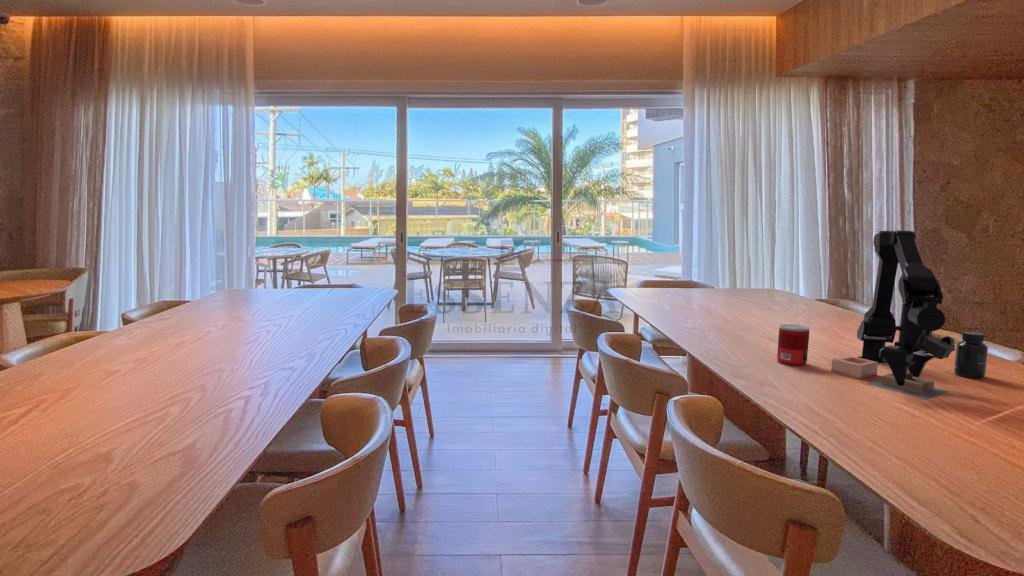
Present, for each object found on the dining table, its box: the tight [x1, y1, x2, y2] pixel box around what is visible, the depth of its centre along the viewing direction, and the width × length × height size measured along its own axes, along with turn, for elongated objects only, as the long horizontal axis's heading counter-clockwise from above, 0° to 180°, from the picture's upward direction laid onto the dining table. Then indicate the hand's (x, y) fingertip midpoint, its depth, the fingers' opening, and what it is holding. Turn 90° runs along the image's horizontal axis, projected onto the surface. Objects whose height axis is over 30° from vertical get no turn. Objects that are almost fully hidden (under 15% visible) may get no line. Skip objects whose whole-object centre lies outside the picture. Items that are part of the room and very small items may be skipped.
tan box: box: [830, 355, 879, 380], centre depth 159 cm, size 8×8×4 cm
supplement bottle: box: [953, 331, 989, 379], centre depth 159 cm, size 7×7×12 cm
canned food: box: [776, 323, 810, 367], centre depth 170 cm, size 8×8×11 cm
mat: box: [865, 378, 951, 400], centre depth 147 cm, size 12×14×1 cm
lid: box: [881, 372, 935, 394], centre depth 147 cm, size 6×9×4 cm
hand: (907, 383), depth 147 cm, fingers closed on lid, 6 cm apart
